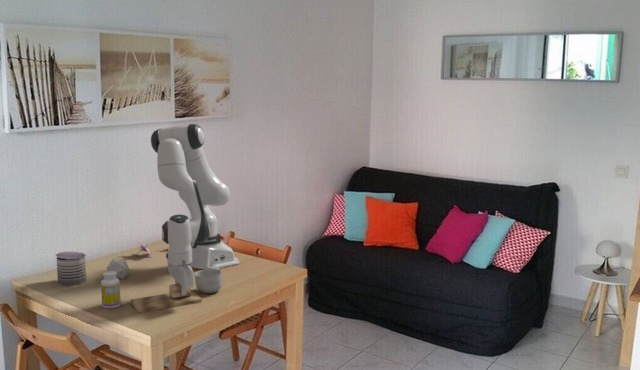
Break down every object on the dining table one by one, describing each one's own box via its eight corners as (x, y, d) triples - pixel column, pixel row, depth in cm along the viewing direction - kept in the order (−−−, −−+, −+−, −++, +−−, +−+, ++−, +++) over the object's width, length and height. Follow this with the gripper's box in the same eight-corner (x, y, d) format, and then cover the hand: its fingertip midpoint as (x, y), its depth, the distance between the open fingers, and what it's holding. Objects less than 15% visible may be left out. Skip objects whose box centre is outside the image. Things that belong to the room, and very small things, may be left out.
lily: (145, 262, 294) (153, 245, 295) (124, 252, 295) (133, 235, 296) (152, 263, 305) (160, 246, 306) (132, 253, 306) (140, 237, 307)
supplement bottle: (104, 302, 240) (103, 270, 237) (122, 302, 240) (121, 269, 238) (100, 309, 233) (98, 275, 231) (118, 308, 234) (117, 275, 231)
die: (116, 283, 264) (130, 263, 265) (99, 272, 264) (113, 252, 266) (122, 284, 272) (135, 265, 273) (106, 273, 273) (119, 254, 274)
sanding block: (187, 293, 247) (186, 282, 246) (190, 296, 244) (190, 285, 243) (169, 296, 243) (169, 284, 243) (172, 299, 240) (172, 287, 239)
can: (65, 277, 269) (63, 249, 267) (91, 277, 268) (90, 250, 266) (52, 285, 258) (50, 257, 256) (79, 286, 257) (78, 258, 255)
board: (191, 292, 252) (191, 289, 252) (201, 301, 242) (201, 298, 242) (130, 302, 240) (130, 299, 240) (138, 312, 230) (138, 309, 230)
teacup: (209, 297, 247) (209, 277, 245) (189, 292, 252) (188, 273, 251) (232, 287, 258) (232, 269, 257) (212, 283, 264) (212, 264, 262)
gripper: (197, 263, 234) (198, 299, 236) (180, 250, 251) (181, 283, 254) (180, 266, 231) (181, 302, 233) (164, 252, 248) (165, 286, 251)
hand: (181, 292), depth 244 cm, fingers closed on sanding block, 4 cm apart
